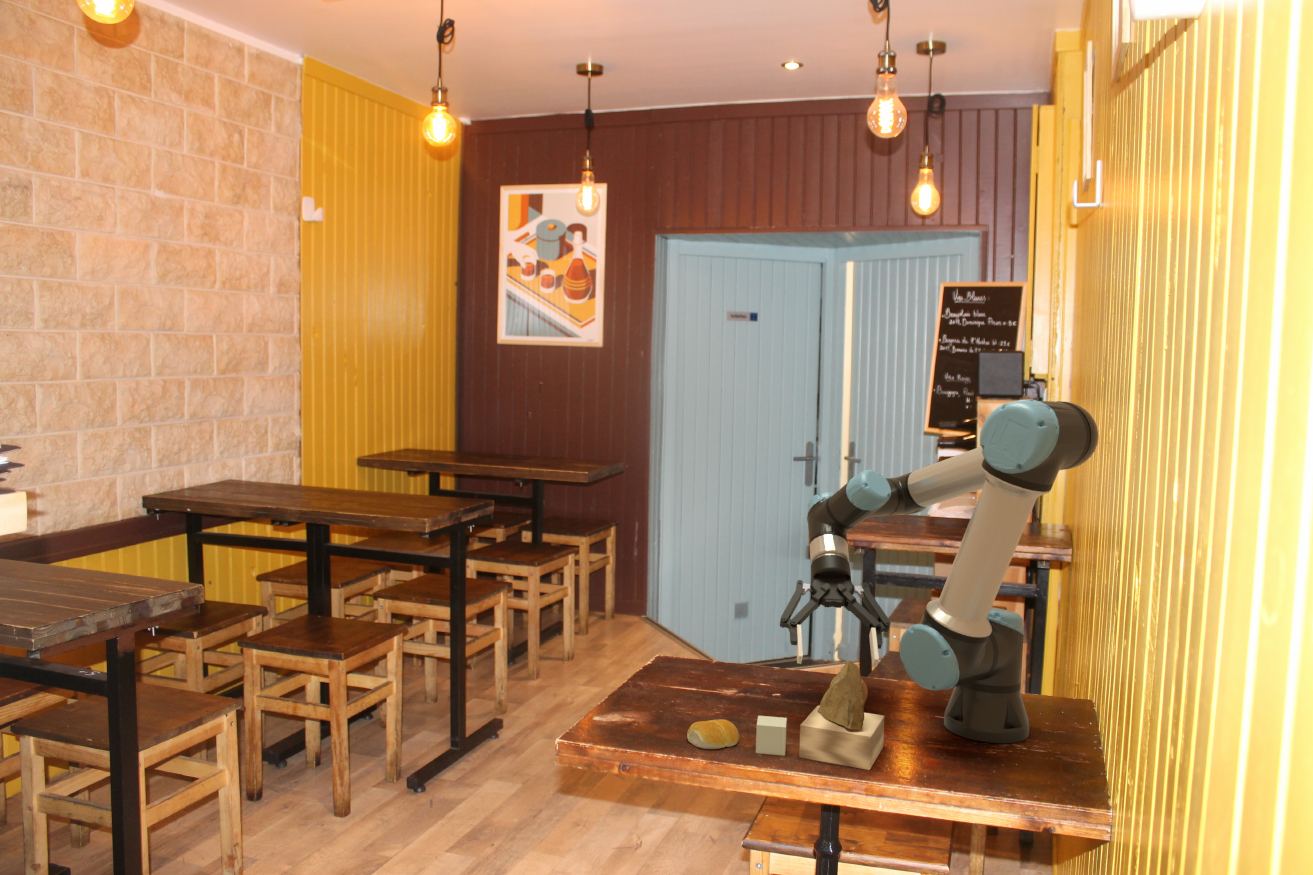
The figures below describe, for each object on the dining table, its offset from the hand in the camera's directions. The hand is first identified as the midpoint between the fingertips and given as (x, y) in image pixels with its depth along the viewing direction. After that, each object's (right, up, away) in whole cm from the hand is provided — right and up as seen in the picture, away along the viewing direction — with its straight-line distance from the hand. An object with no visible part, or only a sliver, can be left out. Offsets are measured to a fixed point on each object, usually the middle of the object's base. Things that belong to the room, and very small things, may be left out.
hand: (837, 661), depth 175 cm
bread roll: (-23, -14, -3) cm, 27 cm away
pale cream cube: (-13, -14, -6) cm, 20 cm away
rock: (-1, -9, -7) cm, 12 cm away
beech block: (0, -15, -6) cm, 16 cm away
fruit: (+5, -14, +17) cm, 22 cm away
